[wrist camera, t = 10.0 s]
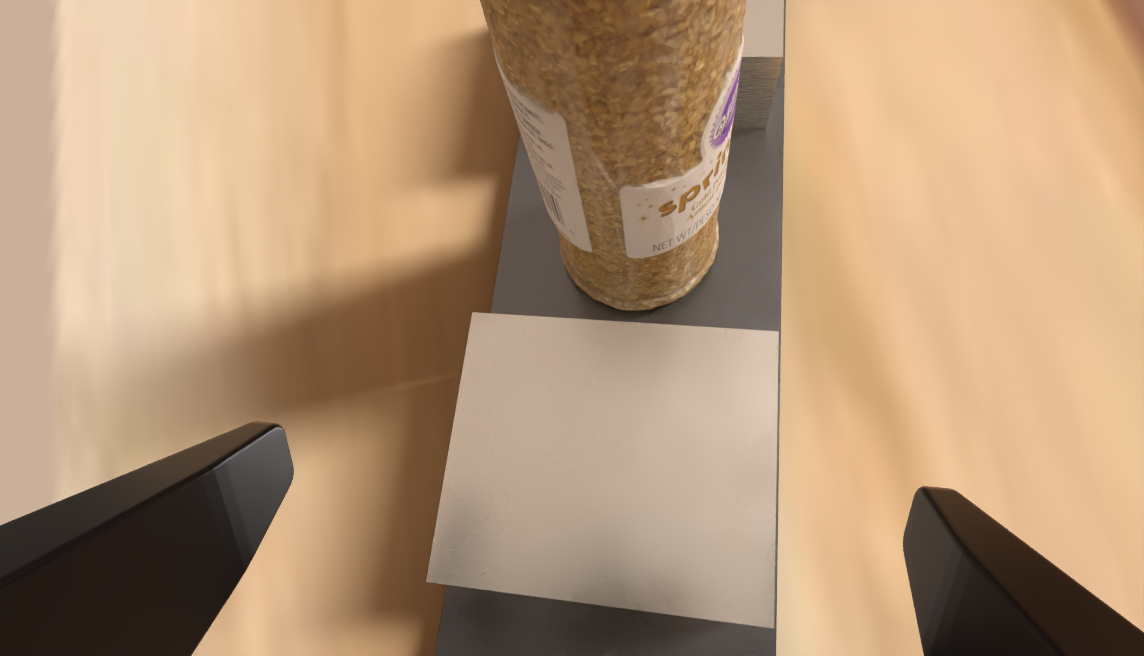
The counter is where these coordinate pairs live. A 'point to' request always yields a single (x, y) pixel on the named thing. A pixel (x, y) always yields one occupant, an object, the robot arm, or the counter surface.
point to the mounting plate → (702, 306)
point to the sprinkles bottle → (625, 132)
